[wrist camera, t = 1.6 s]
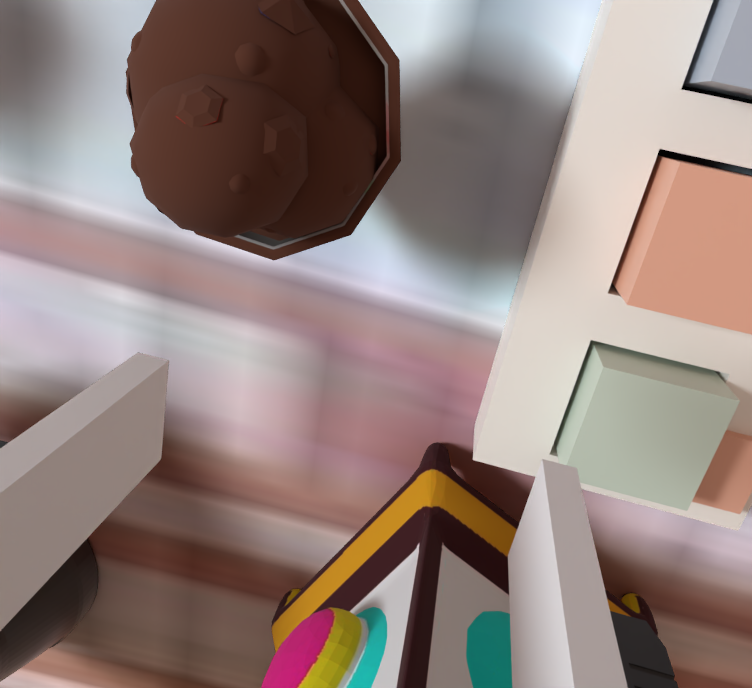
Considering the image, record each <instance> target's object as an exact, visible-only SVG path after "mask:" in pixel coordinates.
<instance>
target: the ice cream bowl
mask: <svg viewBox="0 0 752 688" xmlns="http://www.w3.org/2000/svg"><path fill="white" fill-rule="evenodd" d="M127 63H128V68H127V71H126V76H127V89H126V94H127V96H128V99H129V102H130V105H131V108H132V115H133V121H134V128H135V133H134V135H133V137H132V140H131V142H130V147H131V150H132V154H133V155H132V157H131V168H132V169H133V171H134V172H135V174H136V176H138V177H139V178H140V181H141V185H142V188H143V192H144V194H145V196H146V198H147V199H148V200H149V201H150V202H151V203H152V204H154V205H155V206H156V207H157V209H158V210H159V211H160V212H161V213H163V214H165V215H166V216H167V217H169V218H170V219H171V220H172V221H173V222H174V223H175V224H177V225H178V226H179V227H180V228H182V229H186V230H191V231H194V232H195V233H196V234H197V235H200V236H203V237H206V238H209V239H212V240H215V241H218V242H221V243H224V244H227V245H230V246H233V247H236V248H239V249H242V250H245V251H248V252H251V253H254V254H257V255H260V256H263V257H266V258H269V259H272V260H277V259H280V258H283V257H286V256H289V255H292V254H295V253H298V252H301V251H304V250H307V249H310V248H313V247H316V246H319V245H322V244H325V243H328V242H331V241H334V240H337V239H340V238H343V237H346V236H349V235H351V234H352V233H353V231H354V230H355V228H356V227H357V225H358V224H359V222H360V221H361V219H362V218H363V216H364V215H365V213H366V212H367V210H368V209H369V207H370V206H371V204H372V203H373V201H374V200H375V198H376V197H377V196H378V194H379V193H380V191H381V190H382V188H383V187H384V185H385V184H386V182H387V181H388V179H389V178H390V176H391V175H392V173H393V172H394V170H395V169H396V167H397V166H398V164H399V163H400V161H401V141H400V69H399V59H398V57H397V56H396V55H395V53H394V52H393V50H392V49H391V47H390V46H389V44H388V43H387V42H386V40H385V39H384V37H383V36H382V34H381V33H380V31H379V30H378V29H377V27H376V26H375V24H374V23H373V21H372V20H371V18H370V17H369V15H368V14H367V13H366V11H365V10H364V8H363V7H362V5H361V4H360V2H359V1H358V0H156V2H155V4H154V6H153V8H152V10H151V12H150V14H149V16H148V18H147V20H146V22H145V24H144V26H143V28H142V30H141V31H139V32H138V33H137V34H136V35H135V36H134V38H133V39H132V44H131V52H130V54H129V57H128V59H127Z"/></svg>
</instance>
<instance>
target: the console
mask: <svg viewBox="0 0 752 688" xmlns="http://www.w3.org/2000/svg"><path fill="white" fill-rule="evenodd" d="M712 3H713V0H602V2H601V5H600V8H599V12H598V15H597V18H596V22H595V25H594V28H593V32H592V35H591V38H590V42H589V45H588V48H587V52H586V55H585V58H584V62H583V65H582V68H581V72H580V75H579V78H578V82H577V85H576V88H575V92H574V95H573V98H572V102H571V105H570V109H569V112H568V115H567V119H566V122H565V125H564V129H563V132H562V135H561V139H560V142H559V145H558V149H557V152H556V155H555V159H554V162H553V165H552V169H551V172H550V175H549V179H548V182H547V185H546V189H545V192H544V195H543V199H542V202H541V205H540V209H539V212H538V215H537V219H536V222H535V225H534V229H533V232H532V235H531V239H530V242H529V245H528V249H527V252H526V255H525V259H524V262H523V265H522V269H521V272H520V275H519V279H518V282H517V285H516V289H515V292H514V295H513V299H512V302H511V305H510V309H509V312H508V315H507V319H506V322H505V325H504V329H503V332H502V335H501V339H500V342H499V345H498V349H497V352H496V355H495V359H494V362H493V366H492V369H491V372H490V376H489V379H488V382H487V386H486V389H485V392H484V396H483V399H482V402H481V406H480V409H479V412H478V416H477V419H476V422H475V428H474V446H473V460H475V461H478V462H482V463H486V464H490V465H493V466H497V467H501V468H505V469H508V470H512V471H516V472H519V473H523V474H527V475H531V476H534V477H536V475H537V472H538V469H539V467H540V464H541V461H542V459H545V460H548V461H552V462H556V463H559V460H558V454H557V449H556V443H555V438H556V435H557V432H558V430H559V427H560V424H561V421H562V419H563V416H564V413H565V410H566V407H567V405H568V402H569V399H570V396H571V394H572V391H573V388H574V385H575V383H576V380H577V377H578V374H579V371H580V369H581V366H582V363H583V360H584V358H585V355H586V352H587V349H588V346H589V344H590V341H591V340H593V341H597V342H601V343H605V344H609V345H613V346H617V347H621V348H626V349H630V350H634V351H638V352H642V353H646V354H650V355H654V356H658V357H662V358H666V359H670V360H674V361H678V362H682V363H686V364H690V365H695V366H699V367H703V368H707V369H711V370H714V371H715V372H716V373H717V374H718V375H719V377H720V378H721V379H722V380H723V381H724V383H725V384H726V385H727V386H728V387H729V389H730V390H731V391H732V392H733V393H734V395H735V396H736V397H737V398H738V399H739V400H740V402H739V404H738V406H737V409H736V411H735V413H734V415H733V417H732V419H731V421H730V423H729V425H728V427H727V429H726V431H725V433H724V436H723V438H722V440H721V442H720V444H719V446H718V448H717V450H716V452H715V454H714V456H713V458H712V461H711V463H710V465H709V467H708V469H707V471H706V473H705V475H704V477H703V479H702V481H701V483H700V486H699V488H698V490H697V492H696V494H695V496H694V498H693V500H692V502H691V504H690V506H689V508H688V510H687V511H685V510H681V509H678V508H674V507H670V506H666V505H663V504H659V503H655V502H651V501H648V500H644V499H640V498H636V497H633V496H629V495H625V494H621V493H618V492H614V491H610V490H606V489H603V488H599V487H595V486H591V485H588V484H584V483H580V484H581V489H583V490H587V491H591V492H594V493H598V494H602V495H606V496H609V497H613V498H617V499H621V500H624V501H628V502H632V503H636V504H639V505H643V506H647V507H650V508H654V509H658V510H662V511H665V512H669V513H673V514H677V515H680V516H684V517H688V518H692V519H695V520H699V521H703V522H707V523H710V524H714V525H718V526H722V527H725V528H729V529H733V530H737V531H738V530H739V528H740V526H741V524H742V522H743V521H744V519H745V517H746V515H747V513H748V511H749V509H750V507H751V505H752V335H751V334H747V333H743V332H739V331H734V330H730V329H726V328H722V327H718V326H714V325H709V324H705V323H701V322H697V321H693V320H689V319H684V318H680V317H676V316H672V315H668V314H664V313H659V312H655V311H651V310H647V309H643V308H639V307H635V306H630V305H627V304H626V303H625V301H624V300H623V298H622V297H621V295H620V294H619V292H618V291H617V289H616V288H615V286H614V285H613V283H612V280H613V277H614V274H615V272H616V269H617V266H618V263H619V260H620V258H621V255H622V252H623V249H624V247H625V244H626V241H627V238H628V236H629V233H630V230H631V227H632V224H633V222H634V219H635V216H636V213H637V211H638V208H639V205H640V202H641V199H642V197H643V194H644V191H645V188H646V186H647V183H648V180H649V177H650V174H651V172H652V169H653V166H654V163H655V161H656V158H657V155H658V152H659V150H660V149H663V150H667V151H672V152H677V153H681V154H686V155H690V156H695V157H700V158H704V159H709V160H713V161H718V162H722V163H727V164H732V165H736V166H741V167H745V168H750V169H752V104H749V103H744V102H740V101H735V100H730V99H725V98H721V97H716V96H711V95H706V94H701V93H697V92H692V91H687V90H682V86H683V83H684V80H685V77H686V75H687V72H688V69H689V66H690V64H691V61H692V58H693V55H694V52H695V50H696V47H697V44H698V41H699V39H700V36H701V33H702V30H703V27H704V25H705V22H706V19H707V16H708V14H709V11H710V8H711V5H712Z"/></svg>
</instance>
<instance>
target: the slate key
mask: <svg viewBox="0 0 752 688" xmlns="http://www.w3.org/2000/svg"><path fill="white" fill-rule="evenodd" d="M683 86H687V87H692V88H697V89H702V90H707V91H711V92H716V93H721V94H726V95H731V96H735V97H740V98H745V99H750V100H752V0H713V3H712V5H711V8H710V11H709V14H708V16H707V19H706V22H705V25H704V27H703V30H702V33H701V36H700V39H699V41H698V44H697V47H696V50H695V52H694V55H693V58H692V61H691V64H690V66H689V69H688V72H687V75H686V77H685V80H684V83H683Z"/></svg>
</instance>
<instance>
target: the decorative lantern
mask: <svg viewBox="0 0 752 688" xmlns="http://www.w3.org/2000/svg"><path fill="white" fill-rule="evenodd" d="M518 526H519V523H518V522H517V521H515V520H514V519H513V518H511V517H510V516H509V515H507V514H506V513H505V512H504V511H502V510H501V509H500V508H498V507H497V506H496V505H494V504H493V503H492V502H491V501H489V500H488V499H487V498H485V497H484V496H483V495H481V494H480V493H479V492H477V491H476V490H475V489H474V488H472V487H471V486H470V485H468V484H467V483H466V482H465V481H464V480H462V479H461V478H460V477H459V476H458V475H457V474H456V473H455V471H454V470H453V469H452V468H451V465H450V460H449V455H448V450H447V449H446V447H445V446H444V445H443V444H440V443H433V444H431V445H430V446H429V447H428V448H427V450H426V452H425V454H424V457H423V459H422V461H421V464H420V466H419V468H418V469H417V470H416V472H415V473H414V474H413V475H412V477H411V478H410V479H409V481H408V482H407V483H406V484H405V485H404V486H403V487H402V488H401V489H400V490H399V491H398V492H397V493H396V494H395V495H394V496H393V497H392V498H391V499H390V500H389V501H388V502H387V503H386V504H385V505H384V506H383V507H382V508H381V509H380V510H379V511H378V512H377V513H376V514H375V515H374V516H373V517H372V518H371V519H370V520H369V521H368V522H367V523H366V524H365V525H364V526H363V528H362V529H361V530H360V531H359V532H358V533H357V534H356V535H355V536H354V537H353V538H352V539H351V540H350V541H349V542H348V543H347V544H346V545H345V546H344V547H343V548H342V549H341V550H340V551H339V552H338V553H337V554H336V555H335V556H334V557H333V558H332V559H331V560H330V561H329V562H328V563H327V564H326V565H325V566H324V567H323V568H322V569H321V570H320V571H319V572H318V573H317V574H316V575H315V576H314V577H313V578H312V579H311V580H310V581H309V582H308V583H307V585H306V586H305V587H304V588H303V589H302V590H300V589H292V590H290V591H289V592H288V593H286V594H285V596H284V597H283V599H282V601H281V602H280V604H279V606H278V609H277V611H276V613H275V616H274V618H273V620H272V635H273V641H274V646H275V651H276V654H275V655H274V657H273V659H272V662H271V664H270V666H269V669H268V671H267V673H266V676H265V678H264V680H263V683H262V687H261V688H512V662H511V633H510V603H509V573H508V554H509V551H510V548H511V545H512V543H513V540H514V537H515V534H516V531H517V529H518ZM605 592H606V596H607V601H608V605H609V609H610V611H613V612H616V613H620V614H623V615H627V616H630V617H634V618H637V619H641V620H645V621H647V623H648V624H649V626H650V627H651V628H652V630H653V631H654V632H655V634H656V635H658V632H657V628H656V625H655V622H654V618H653V615H652V613H651V611H650V609H649V607H648V605H647V604H646V602H645V601H644V599H642V598H641V597H640V596H639V595H637V594H634V593H629V594H627V595H625V596H623V598H622V599H621V601H620V600H618V599H617V598H616V597H614V596H613V595H612V594H610V593H609V592H608V591H607V590H605Z"/></svg>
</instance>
